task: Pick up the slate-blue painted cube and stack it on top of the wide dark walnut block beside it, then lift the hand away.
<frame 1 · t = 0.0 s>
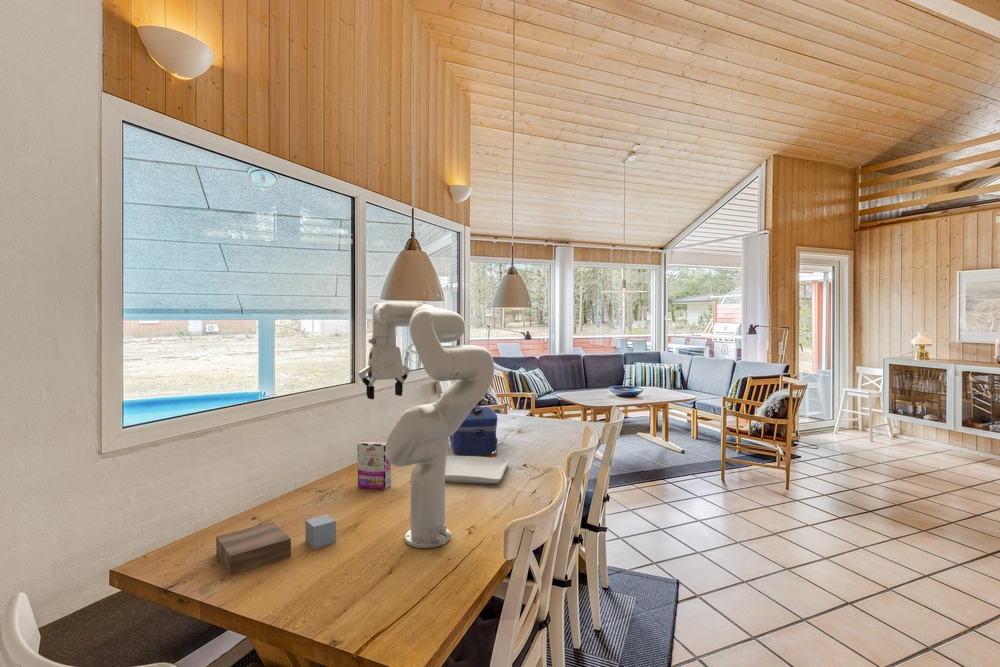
hand: (384, 397, 153), 37 cm above the table, tool pointing down, fingers open, 9 cm apart
square plate: (472, 475, 193), on the table
candy bar box: (374, 487, 178), on the table
slate cube: (320, 541, 134), on the table
walnut block: (253, 556, 126), on the table
lunch bag: (473, 448, 232), on the table
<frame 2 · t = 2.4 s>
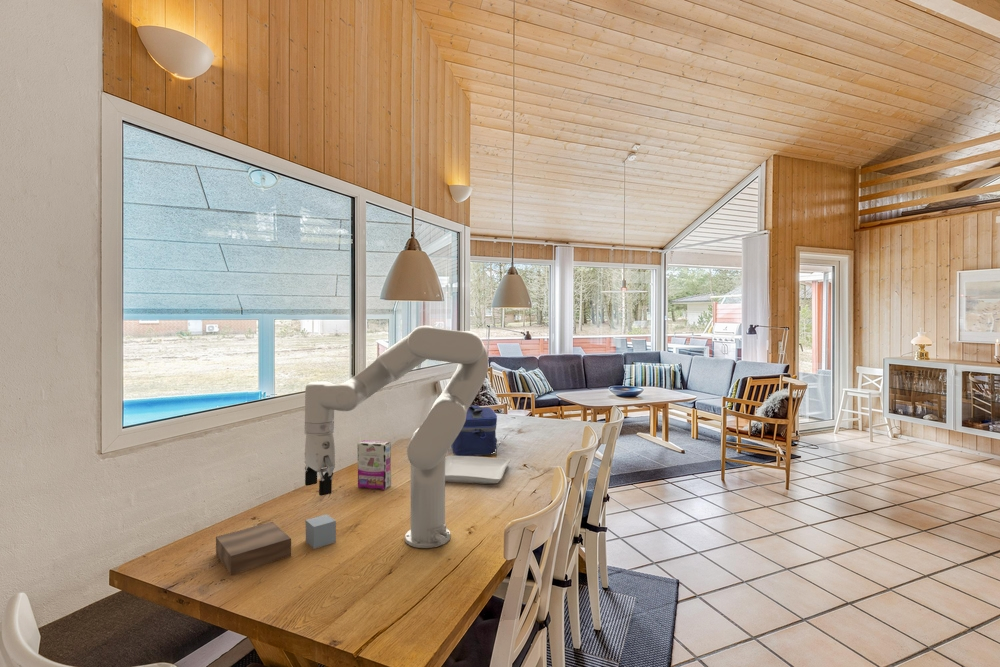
hand: (317, 489, 134), 14 cm above the table, tool pointing down, fingers open, 9 cm apart
nothing on the table moved.
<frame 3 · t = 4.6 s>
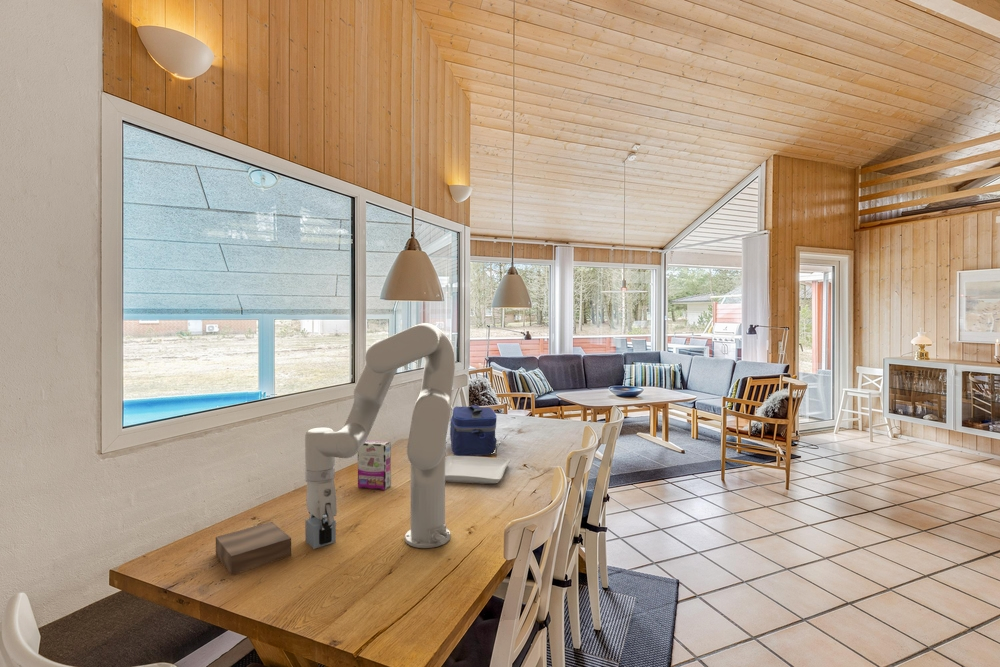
hand: (320, 538, 134), 1 cm above the table, tool pointing down, fingers closed on slate cube, 6 cm apart
slate cube: (320, 541, 134), on the table, touching gripper
everything else where it was.
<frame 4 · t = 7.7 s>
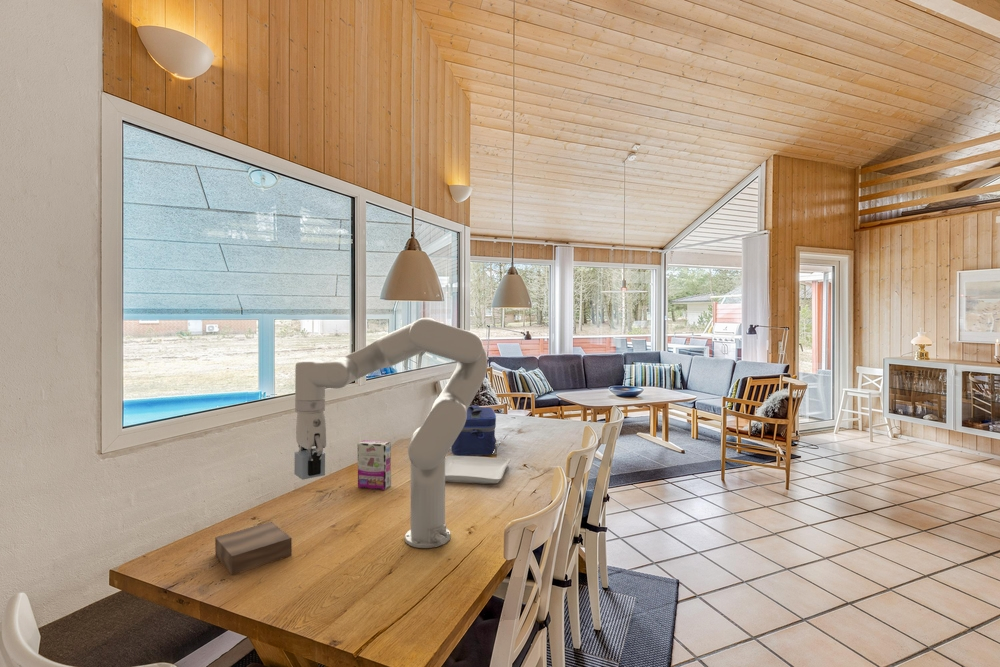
hand: (309, 471, 132), 20 cm above the table, tool pointing down, fingers closed on slate cube, 6 cm apart
slate cube: (309, 474, 132), point 19 cm above the table, touching gripper
everything else where it was.
when the fingers open (7 cm above the table, at t = 10.7 s): slate cube drops 2 cm, point 5 cm above the table.
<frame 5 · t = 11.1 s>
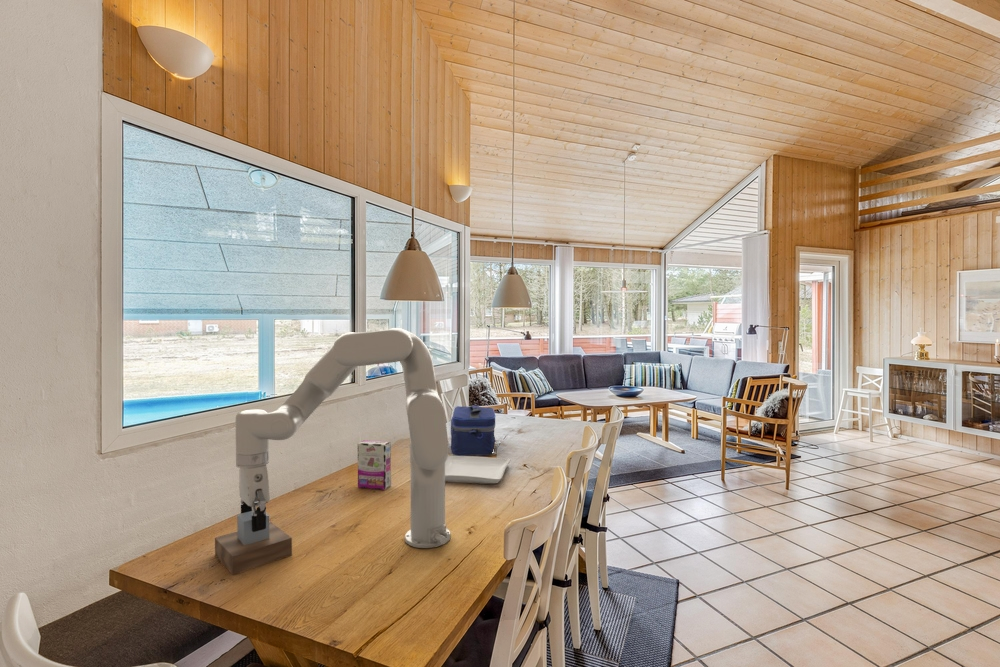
hand: (253, 524, 126), 8 cm above the table, tool pointing down, fingers open, 9 cm apart
slate cube: (253, 537, 126), point 5 cm above the table
everything else where it was.
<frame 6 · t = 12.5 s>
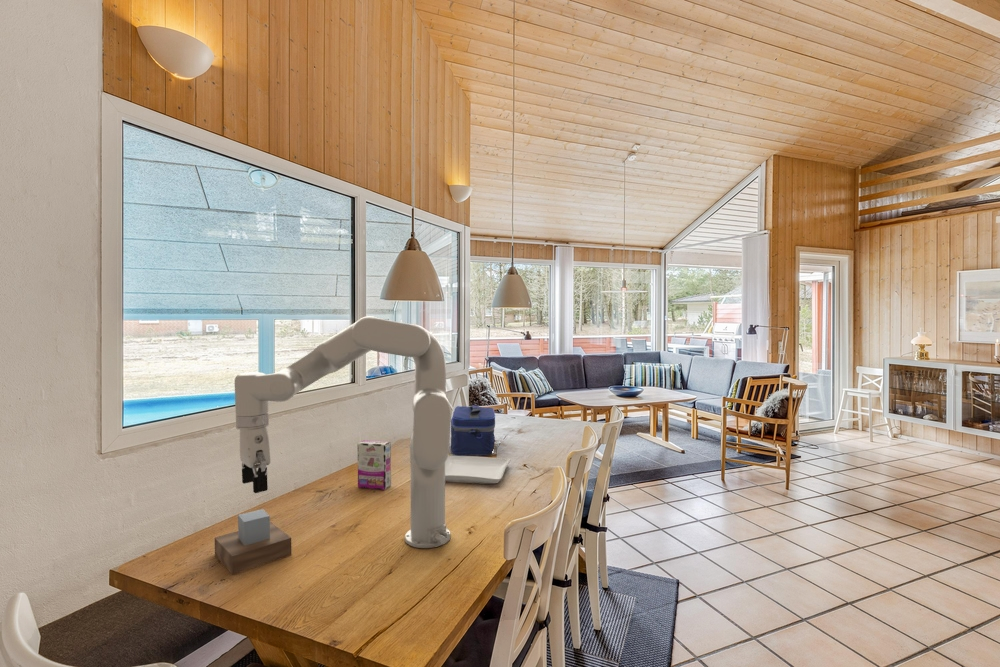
hand: (254, 486, 126), 18 cm above the table, tool pointing down, fingers open, 9 cm apart
slate cube: (254, 538, 126), point 4 cm above the table, touching walnut block
walnut block: (253, 556, 126), on the table, touching slate cube
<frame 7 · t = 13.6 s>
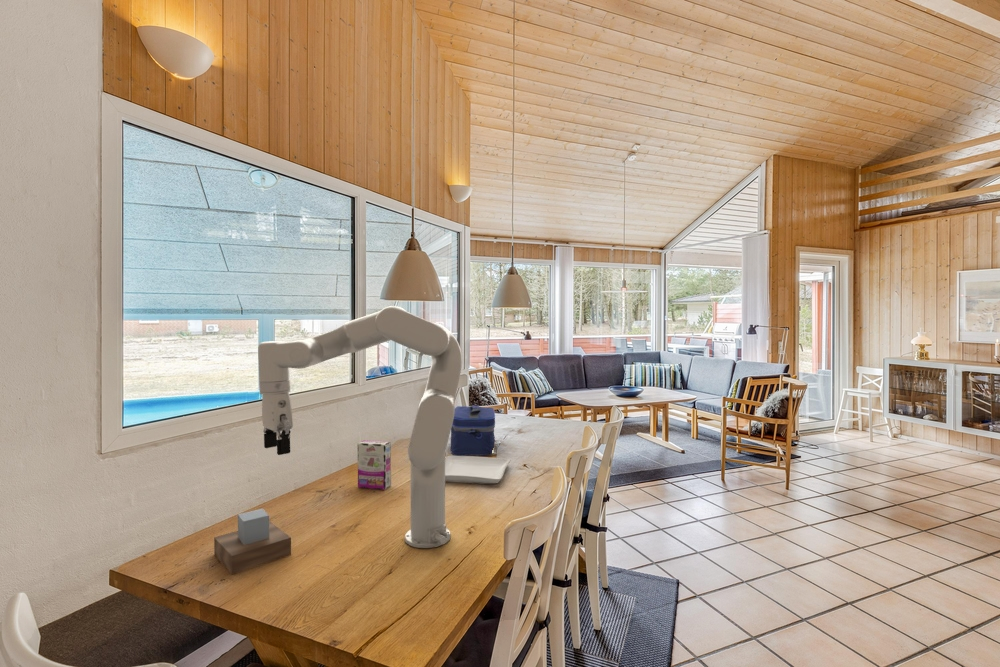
hand: (277, 450, 131), 26 cm above the table, tool pointing down, fingers open, 9 cm apart
nothing on the table moved.
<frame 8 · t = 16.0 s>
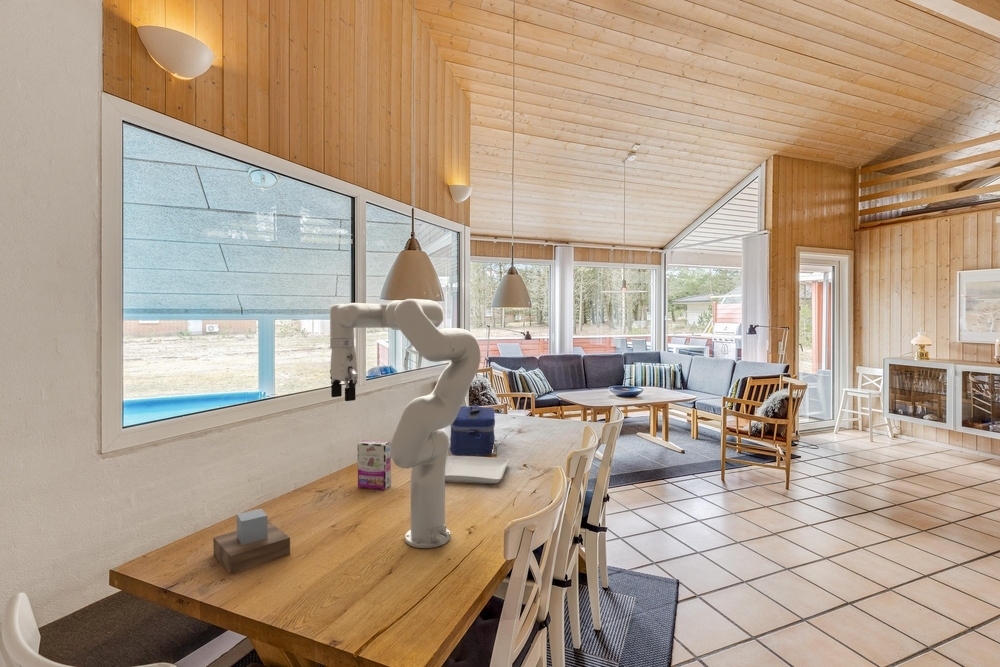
hand: (343, 398, 152), 36 cm above the table, tool pointing down, fingers open, 9 cm apart
slate cube: (252, 537, 126), point 4 cm above the table
walnut block: (251, 556, 126), on the table
at the end: slate cube inside the target area on the walnut block (0.2 cm from its centre), point 5.0 cm above the walnut block's base; slate cube tilted 0°; the gripper is holding nothing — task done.
